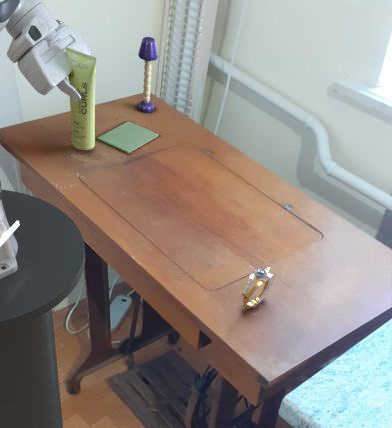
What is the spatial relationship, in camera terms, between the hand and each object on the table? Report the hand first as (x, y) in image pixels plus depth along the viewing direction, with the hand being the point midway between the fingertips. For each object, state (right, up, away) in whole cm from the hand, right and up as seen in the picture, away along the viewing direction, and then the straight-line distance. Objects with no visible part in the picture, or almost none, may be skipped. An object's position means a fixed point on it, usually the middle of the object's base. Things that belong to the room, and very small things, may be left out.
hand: (84, 94), depth 112 cm
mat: (+7, -3, +15) cm, 17 cm away
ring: (+33, -46, -18) cm, 59 cm away
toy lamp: (+10, +9, +26) cm, 30 cm away
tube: (-2, -7, +9) cm, 12 cm away
